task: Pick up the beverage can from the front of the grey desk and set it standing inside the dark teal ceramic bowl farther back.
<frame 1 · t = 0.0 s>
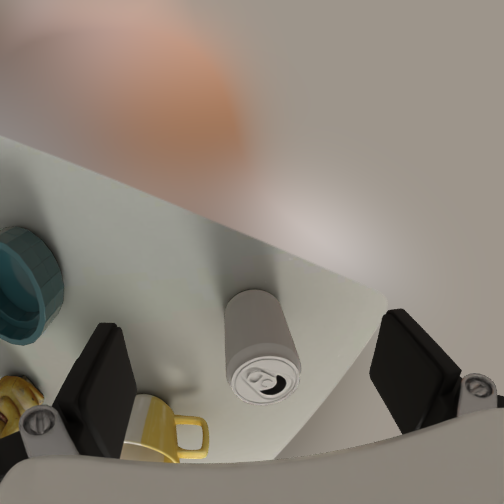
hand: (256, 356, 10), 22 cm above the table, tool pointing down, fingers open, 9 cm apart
bowl: (25, 274, 31), on the table
mug: (161, 408, 39), on the table
beverage can: (252, 310, 35), on the table
decorative figurine: (24, 387, 37), on the table
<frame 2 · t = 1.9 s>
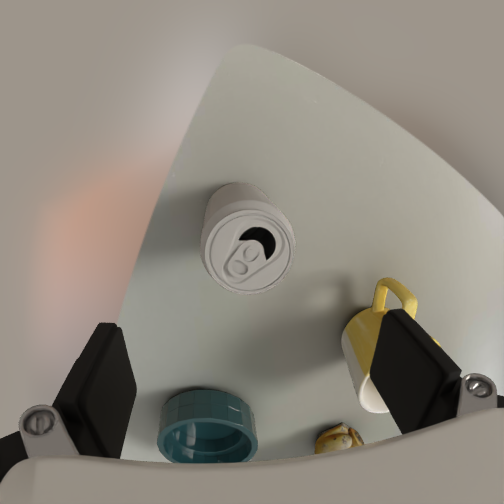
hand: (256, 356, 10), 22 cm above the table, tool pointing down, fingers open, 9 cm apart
bowl: (207, 416, 40), on the table
mug: (369, 315, 37), on the table
beverage can: (238, 213, 31), on the table
decorative figurine: (333, 436, 45), on the table
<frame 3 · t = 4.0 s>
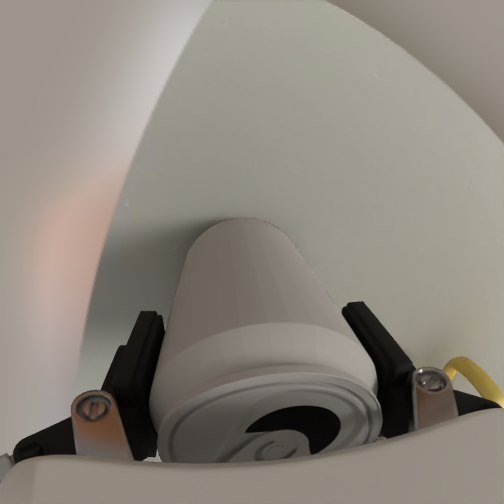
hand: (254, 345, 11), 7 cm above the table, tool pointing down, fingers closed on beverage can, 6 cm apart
mug: (420, 392, 23), on the table
beverage can: (241, 269, 18), on the table, touching gripper
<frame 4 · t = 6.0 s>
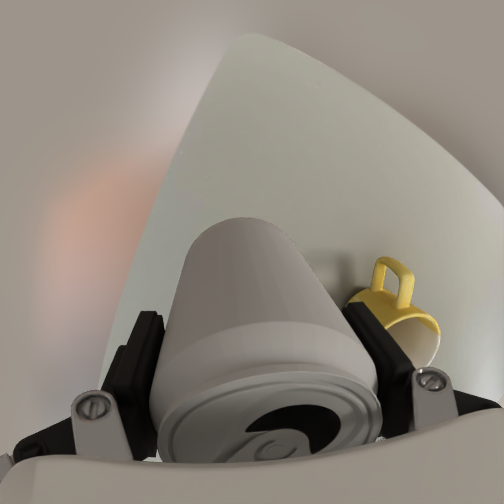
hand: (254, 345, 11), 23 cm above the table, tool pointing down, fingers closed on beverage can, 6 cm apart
mug: (368, 297, 38), on the table
beverage can: (241, 269, 18), point 16 cm above the table, touching gripper
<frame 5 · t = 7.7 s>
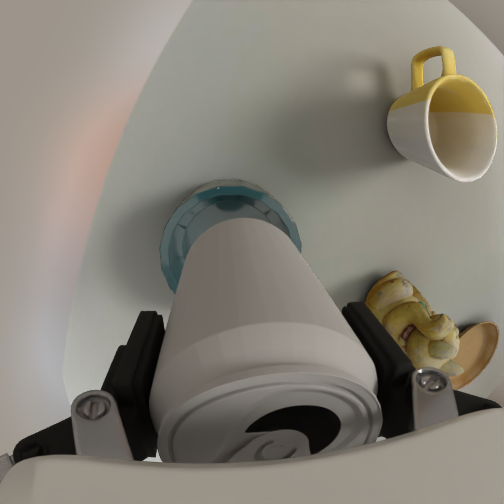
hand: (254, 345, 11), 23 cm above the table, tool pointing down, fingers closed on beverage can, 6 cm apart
bowl: (229, 238, 34), on the table
mug: (409, 114, 31), on the table
beverage can: (241, 269, 18), point 16 cm above the table, touching gripper
plant saucer: (462, 350, 44), on the table
decorative figurine: (384, 301, 39), on the table
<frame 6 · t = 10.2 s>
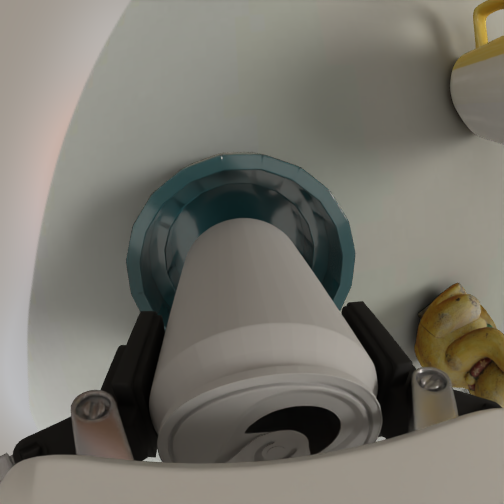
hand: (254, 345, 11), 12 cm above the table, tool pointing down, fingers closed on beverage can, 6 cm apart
bowl: (237, 242, 23), on the table
mug: (470, 80, 20), on the table
beverage can: (241, 269, 18), point 5 cm above the table, touching gripper
decorative figurine: (436, 322, 28), on the table
when the fingers open (8 cm above the table, at t = 11.8 s): beverage can stays where it is, resting on bowl.
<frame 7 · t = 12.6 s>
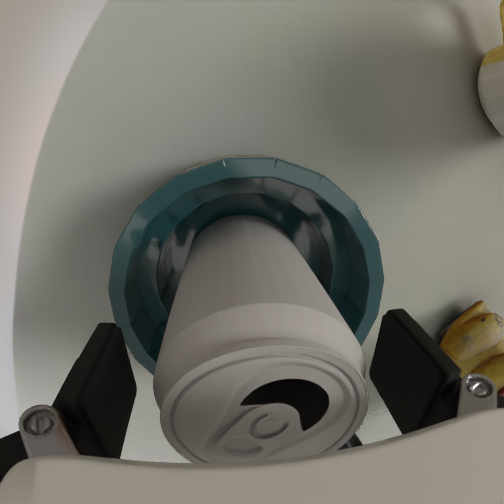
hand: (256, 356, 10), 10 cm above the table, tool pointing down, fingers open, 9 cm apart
bowl: (242, 260, 20), on the table
mug: (497, 78, 17), on the table
beverage can: (241, 264, 19), point 1 cm above the table, touching bowl
decorative figurine: (456, 340, 24), on the table
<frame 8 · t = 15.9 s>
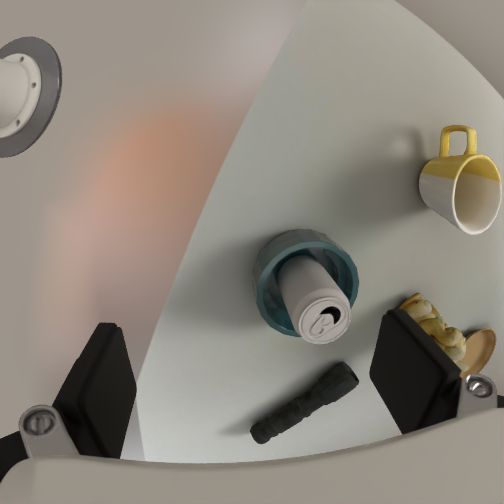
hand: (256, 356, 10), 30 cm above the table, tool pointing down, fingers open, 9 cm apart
flashlight: (299, 396, 51), on the table
bowl: (298, 273, 43), on the table
mug: (434, 171, 40), on the table
beverage can: (299, 275, 42), point 1 cm above the table, touching bowl
plant saucer: (466, 351, 53), on the table
decorative figurine: (407, 315, 48), on the table
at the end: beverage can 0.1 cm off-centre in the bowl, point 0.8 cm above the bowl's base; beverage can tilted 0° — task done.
